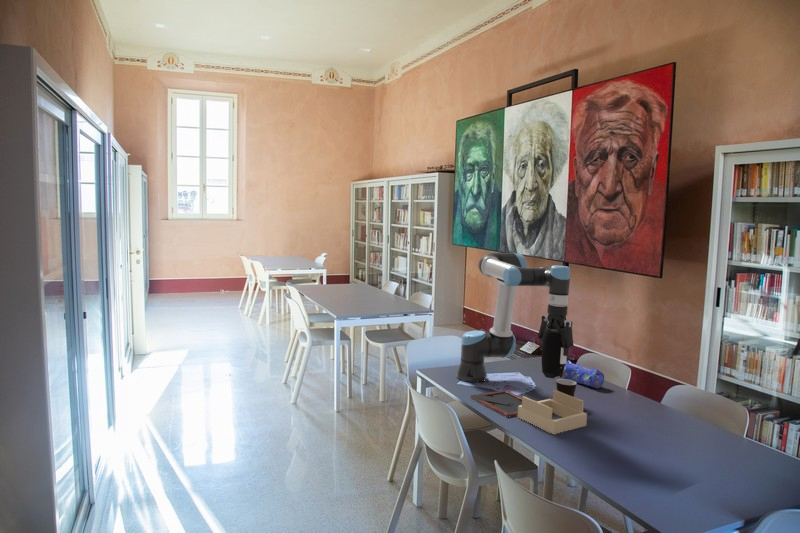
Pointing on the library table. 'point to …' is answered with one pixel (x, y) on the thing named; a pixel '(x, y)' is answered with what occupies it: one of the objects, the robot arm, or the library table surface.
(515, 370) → the library table surface
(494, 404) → the picture frame
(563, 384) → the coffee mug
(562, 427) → the carton
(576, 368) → the pencil case
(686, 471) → the library table surface
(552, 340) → the portable speaker
